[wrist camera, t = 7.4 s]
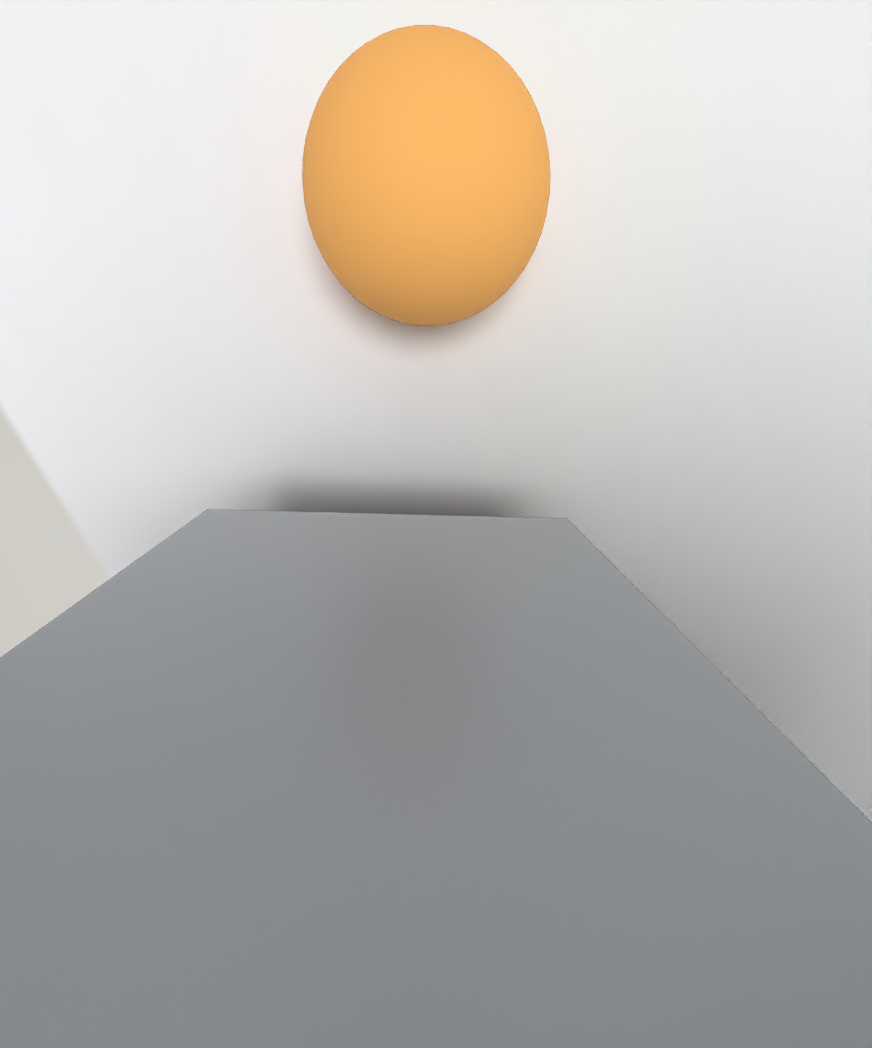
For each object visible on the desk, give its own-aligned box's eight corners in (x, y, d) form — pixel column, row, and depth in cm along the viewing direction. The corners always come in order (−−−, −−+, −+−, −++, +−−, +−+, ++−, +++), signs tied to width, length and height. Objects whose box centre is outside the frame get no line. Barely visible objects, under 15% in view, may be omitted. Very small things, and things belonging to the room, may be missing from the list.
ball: (514, 337, 13) (564, 320, 9) (329, 328, 13) (278, 307, 8) (532, 116, 12) (606, -49, 7) (324, 103, 12) (258, -77, 7)
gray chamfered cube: (531, 792, 13) (740, 1539, 5) (237, 794, 13) (-93, 1620, 4) (566, 518, 11) (1103, 1055, 2) (207, 509, 10) (-652, 1123, 2)
